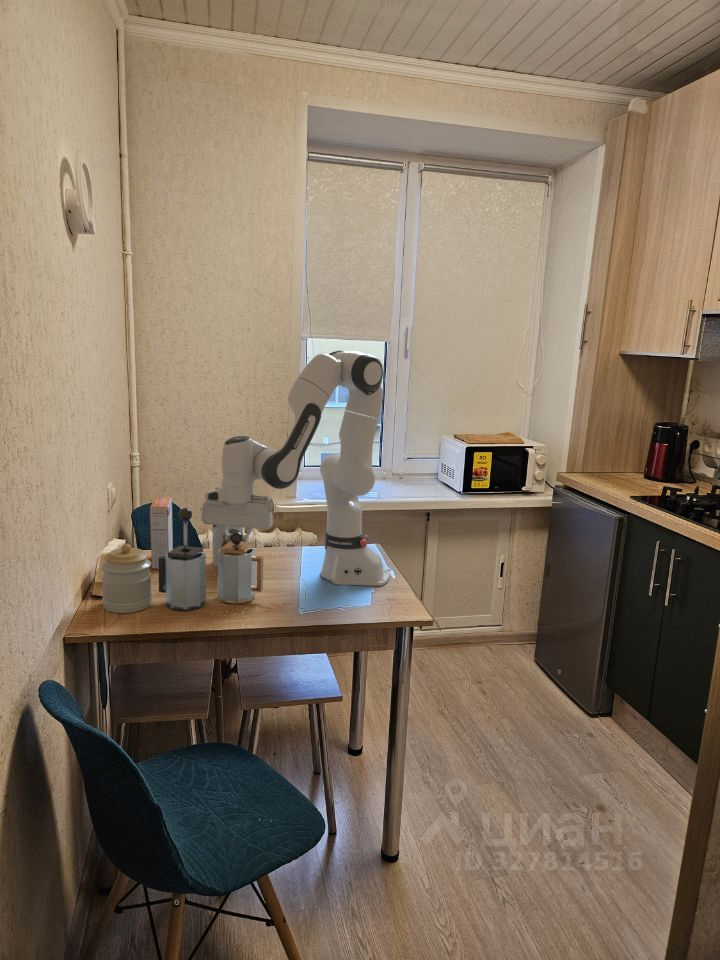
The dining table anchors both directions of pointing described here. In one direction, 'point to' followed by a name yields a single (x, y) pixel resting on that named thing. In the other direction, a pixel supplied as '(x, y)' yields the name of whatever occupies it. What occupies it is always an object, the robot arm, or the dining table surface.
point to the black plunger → (185, 524)
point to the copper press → (238, 573)
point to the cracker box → (161, 528)
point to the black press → (183, 578)
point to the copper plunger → (236, 539)
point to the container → (220, 540)
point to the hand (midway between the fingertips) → (236, 541)
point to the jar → (126, 580)
